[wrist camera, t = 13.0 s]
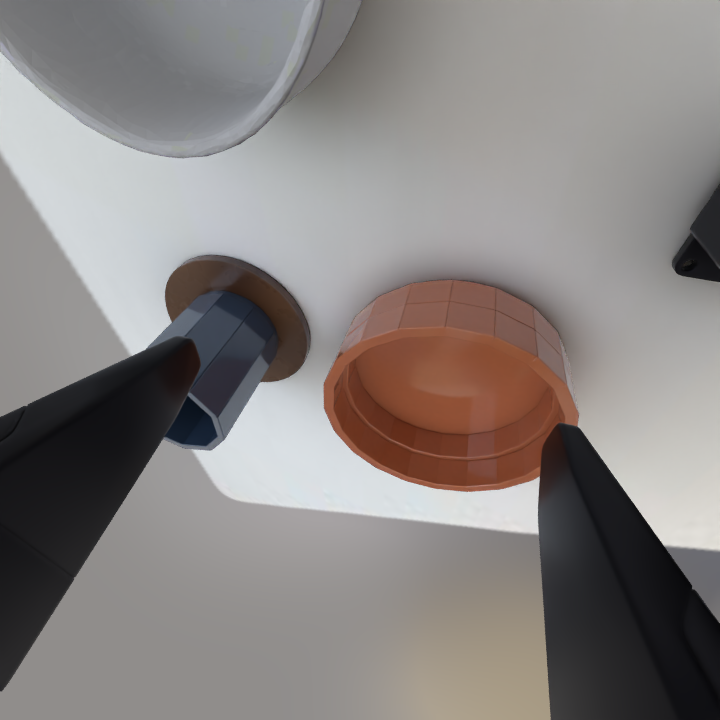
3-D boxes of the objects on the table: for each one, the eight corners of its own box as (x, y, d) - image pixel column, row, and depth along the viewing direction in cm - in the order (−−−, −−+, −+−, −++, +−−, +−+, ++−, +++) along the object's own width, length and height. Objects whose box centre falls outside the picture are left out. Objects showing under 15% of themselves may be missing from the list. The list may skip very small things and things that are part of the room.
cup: (274, 298, 23) (208, 388, 18) (282, 371, 28) (231, 461, 23) (183, 280, 24) (95, 360, 19) (205, 353, 29) (138, 436, 23)
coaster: (307, 271, 22) (303, 277, 22) (312, 389, 29) (309, 395, 29) (150, 241, 24) (144, 246, 23) (190, 360, 31) (186, 365, 30)
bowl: (613, 301, 19) (635, 364, 16) (520, 453, 28) (522, 511, 25) (349, 253, 21) (322, 301, 18) (342, 410, 30) (324, 459, 27)
